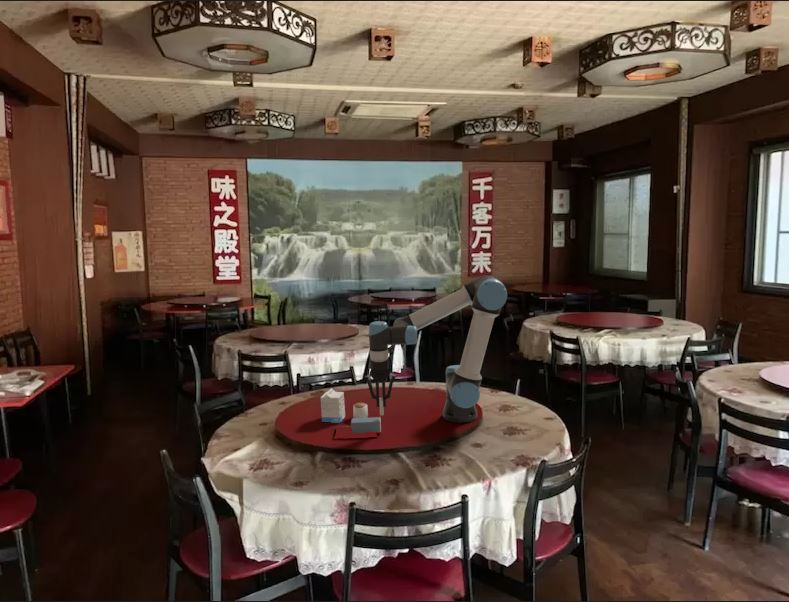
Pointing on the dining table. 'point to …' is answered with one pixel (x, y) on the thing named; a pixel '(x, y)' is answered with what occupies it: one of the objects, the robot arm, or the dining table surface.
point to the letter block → (366, 425)
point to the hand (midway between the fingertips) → (381, 414)
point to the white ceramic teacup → (360, 410)
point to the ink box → (332, 406)
